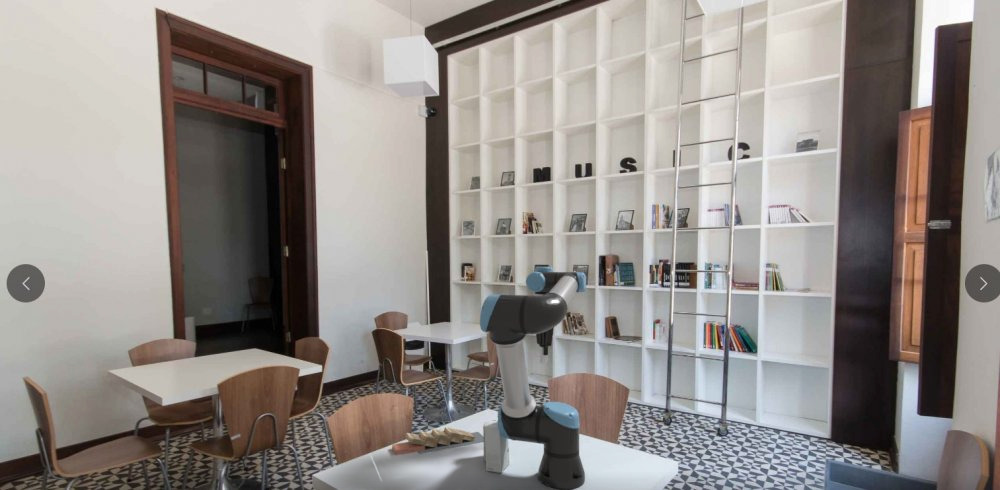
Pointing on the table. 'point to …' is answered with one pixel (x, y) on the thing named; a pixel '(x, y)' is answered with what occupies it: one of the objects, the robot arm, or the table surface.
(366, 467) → the table surface
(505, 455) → the skincare box
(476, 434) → the mat
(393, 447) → the domino
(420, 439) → the domino
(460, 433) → the domino
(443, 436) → the domino
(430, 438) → the domino
